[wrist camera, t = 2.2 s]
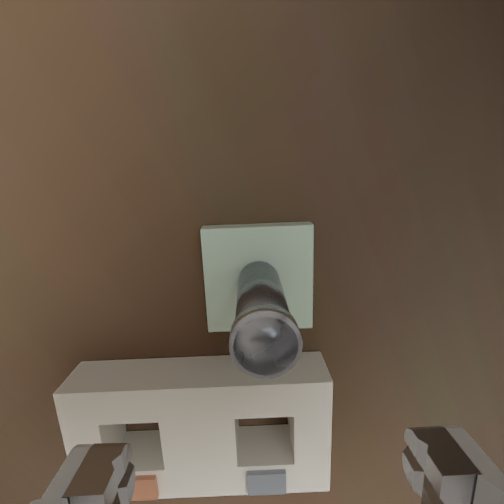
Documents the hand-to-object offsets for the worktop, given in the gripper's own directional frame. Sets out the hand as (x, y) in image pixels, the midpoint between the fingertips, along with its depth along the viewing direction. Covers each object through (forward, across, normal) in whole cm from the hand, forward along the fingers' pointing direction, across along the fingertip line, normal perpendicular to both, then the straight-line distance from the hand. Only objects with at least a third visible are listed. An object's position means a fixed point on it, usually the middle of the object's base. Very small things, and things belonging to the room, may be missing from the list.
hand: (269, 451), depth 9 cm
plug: (+14, 0, 0) cm, 14 cm away
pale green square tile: (+16, 0, 0) cm, 16 cm away
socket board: (+16, +5, +12) cm, 20 cm away
